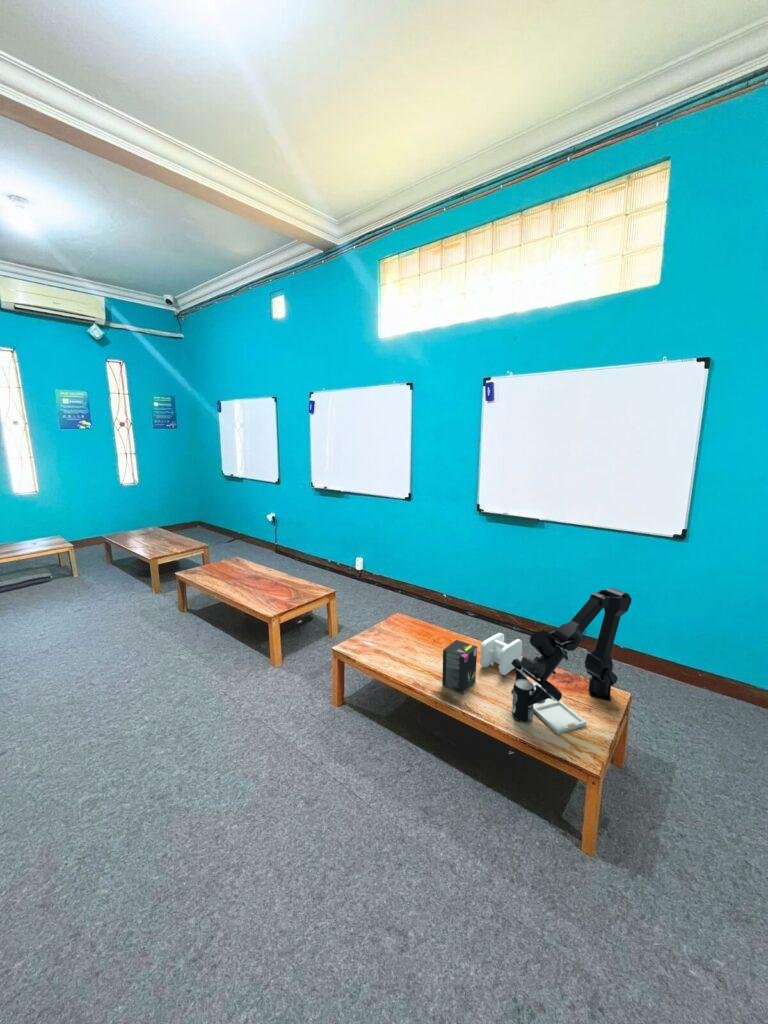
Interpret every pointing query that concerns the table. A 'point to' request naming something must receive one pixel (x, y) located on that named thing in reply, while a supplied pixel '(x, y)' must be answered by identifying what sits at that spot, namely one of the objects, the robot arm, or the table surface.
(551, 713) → the white divided tray
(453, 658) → the tampon box
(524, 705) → the beverage can
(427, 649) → the table surface
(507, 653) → the cable organizer
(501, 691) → the table surface
